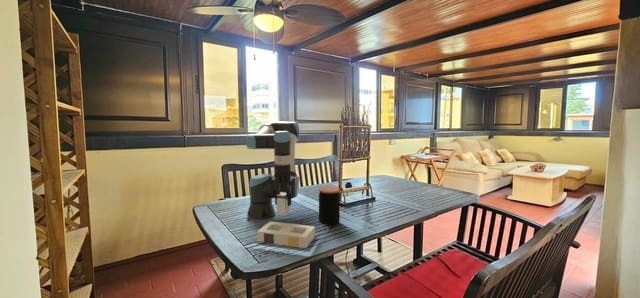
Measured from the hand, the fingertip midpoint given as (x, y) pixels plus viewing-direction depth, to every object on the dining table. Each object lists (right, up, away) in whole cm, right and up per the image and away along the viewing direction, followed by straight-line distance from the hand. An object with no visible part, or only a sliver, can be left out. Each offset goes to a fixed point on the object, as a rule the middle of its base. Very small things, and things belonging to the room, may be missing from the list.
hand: (283, 211), depth 133 cm
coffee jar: (+23, -8, +9) cm, 26 cm away
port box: (+3, -10, -13) cm, 17 cm away
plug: (0, -1, 0) cm, 1 cm away
